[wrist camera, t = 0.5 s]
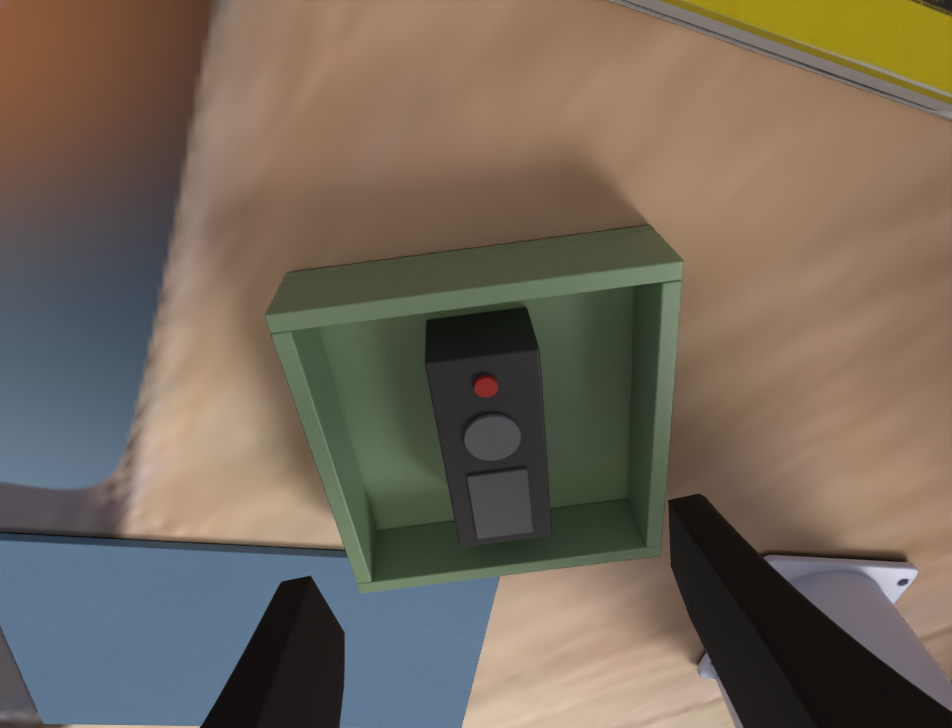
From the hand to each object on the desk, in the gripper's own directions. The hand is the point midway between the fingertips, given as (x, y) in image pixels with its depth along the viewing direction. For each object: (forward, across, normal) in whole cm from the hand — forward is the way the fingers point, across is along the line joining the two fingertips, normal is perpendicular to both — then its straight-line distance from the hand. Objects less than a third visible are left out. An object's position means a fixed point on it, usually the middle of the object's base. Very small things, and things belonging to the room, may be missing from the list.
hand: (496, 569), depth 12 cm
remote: (+10, 0, +4) cm, 10 cm away
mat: (+10, +14, +15) cm, 22 cm away
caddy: (+10, 0, +4) cm, 11 cm away
